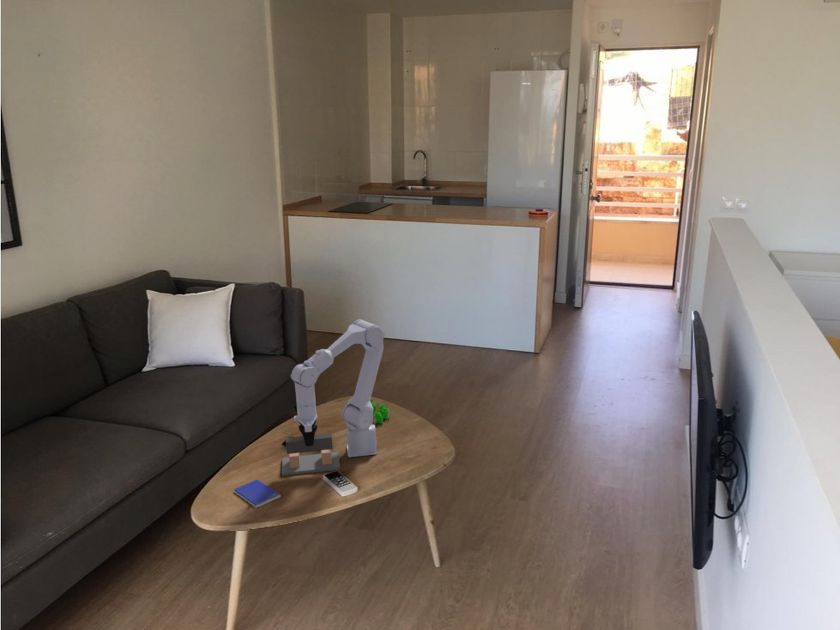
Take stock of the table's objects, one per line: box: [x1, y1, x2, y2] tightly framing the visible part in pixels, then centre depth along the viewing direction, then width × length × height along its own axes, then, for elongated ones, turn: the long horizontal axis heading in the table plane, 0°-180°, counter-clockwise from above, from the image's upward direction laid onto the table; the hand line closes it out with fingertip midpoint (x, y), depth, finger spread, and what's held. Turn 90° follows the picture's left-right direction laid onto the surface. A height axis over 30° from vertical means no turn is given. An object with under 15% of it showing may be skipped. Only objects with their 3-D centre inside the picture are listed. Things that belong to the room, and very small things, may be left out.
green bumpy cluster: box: [370, 399, 392, 425], centre depth 244 cm, size 15×15×7 cm
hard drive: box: [234, 479, 281, 509], centre depth 196 cm, size 2×8×12 cm
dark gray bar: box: [285, 432, 334, 455], centre depth 207 cm, size 14×3×4 cm, turn 101°
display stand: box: [281, 449, 341, 477], centre depth 211 cm, size 18×10×5 cm, turn 100°
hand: (309, 442), depth 207 cm, fingers closed on dark gray bar, 3 cm apart
